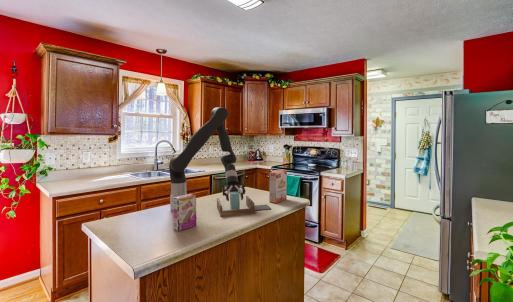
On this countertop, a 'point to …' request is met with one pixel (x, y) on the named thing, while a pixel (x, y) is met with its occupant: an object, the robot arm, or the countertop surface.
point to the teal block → (234, 200)
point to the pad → (262, 207)
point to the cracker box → (278, 186)
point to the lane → (239, 211)
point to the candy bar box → (184, 212)
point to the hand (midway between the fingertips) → (235, 200)
